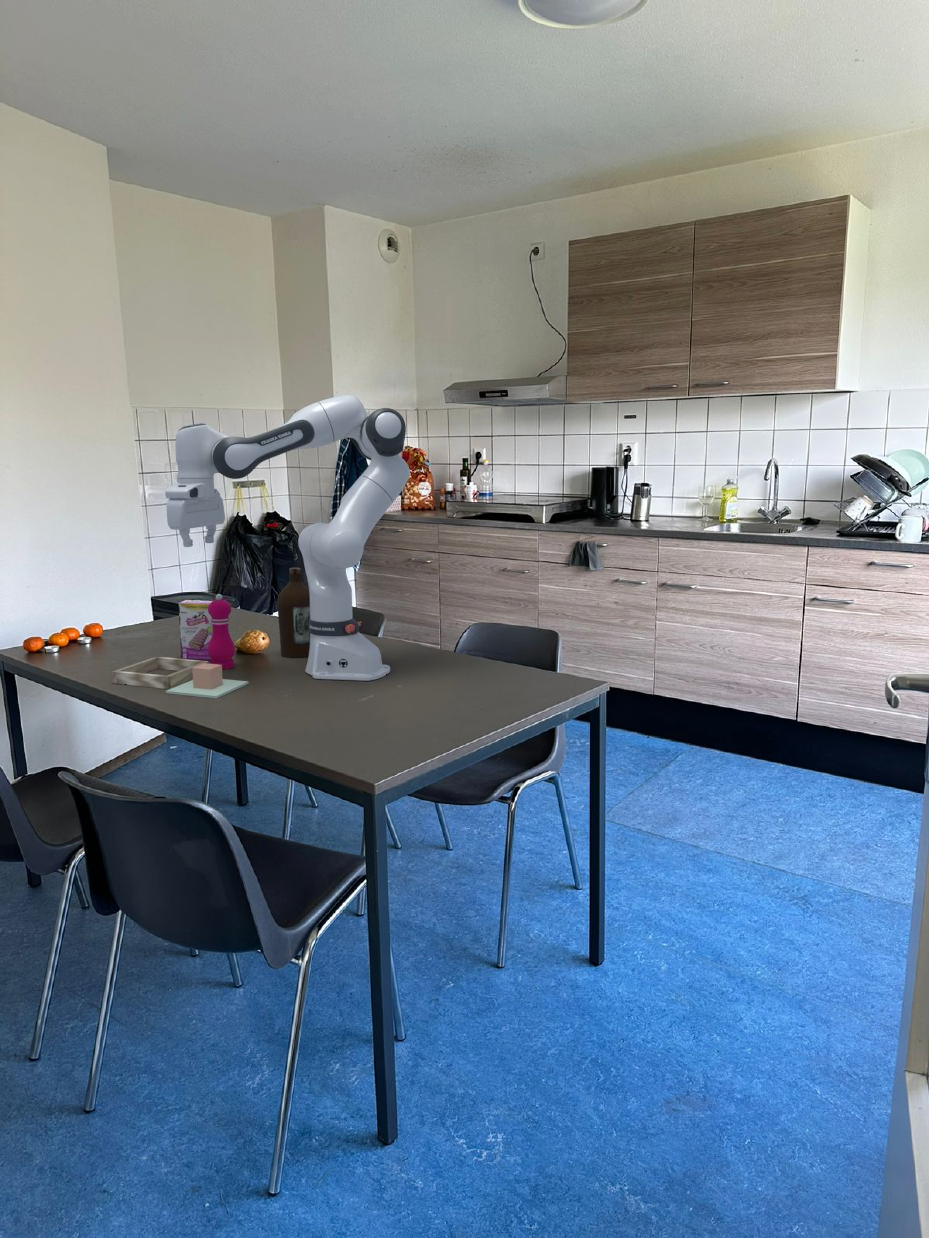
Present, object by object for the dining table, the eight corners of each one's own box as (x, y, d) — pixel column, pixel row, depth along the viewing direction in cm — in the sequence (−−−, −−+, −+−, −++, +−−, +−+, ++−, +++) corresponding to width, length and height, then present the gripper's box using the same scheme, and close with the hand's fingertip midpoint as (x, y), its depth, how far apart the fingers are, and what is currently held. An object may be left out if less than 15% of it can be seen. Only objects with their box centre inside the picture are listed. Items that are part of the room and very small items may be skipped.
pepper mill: (228, 670, 230) (225, 596, 226) (203, 669, 232) (199, 595, 228) (240, 664, 237) (237, 592, 233) (216, 663, 239) (212, 591, 235)
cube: (222, 684, 214) (221, 664, 214) (211, 689, 210) (210, 669, 209) (205, 682, 216) (204, 663, 215) (193, 687, 211) (192, 667, 210)
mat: (248, 683, 217) (248, 681, 217) (216, 698, 204) (216, 696, 204) (200, 679, 222) (200, 676, 221) (166, 693, 208) (165, 690, 208)
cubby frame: (209, 672, 228) (208, 661, 228) (168, 689, 212) (167, 677, 212) (156, 667, 233) (156, 656, 233) (112, 683, 217) (111, 671, 216)
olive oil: (271, 653, 250) (268, 568, 245) (303, 648, 257) (300, 564, 252) (292, 660, 242) (289, 571, 238) (323, 654, 249) (321, 568, 245)
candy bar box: (180, 660, 241) (177, 602, 238) (187, 656, 246) (184, 599, 243) (219, 661, 240) (216, 603, 237) (225, 657, 245) (223, 600, 242)
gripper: (208, 488, 228) (211, 540, 231) (160, 491, 209) (164, 548, 211) (229, 488, 226) (232, 541, 229) (183, 491, 207) (186, 549, 210)
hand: (199, 544), depth 220 cm, fingers open, 8 cm apart
